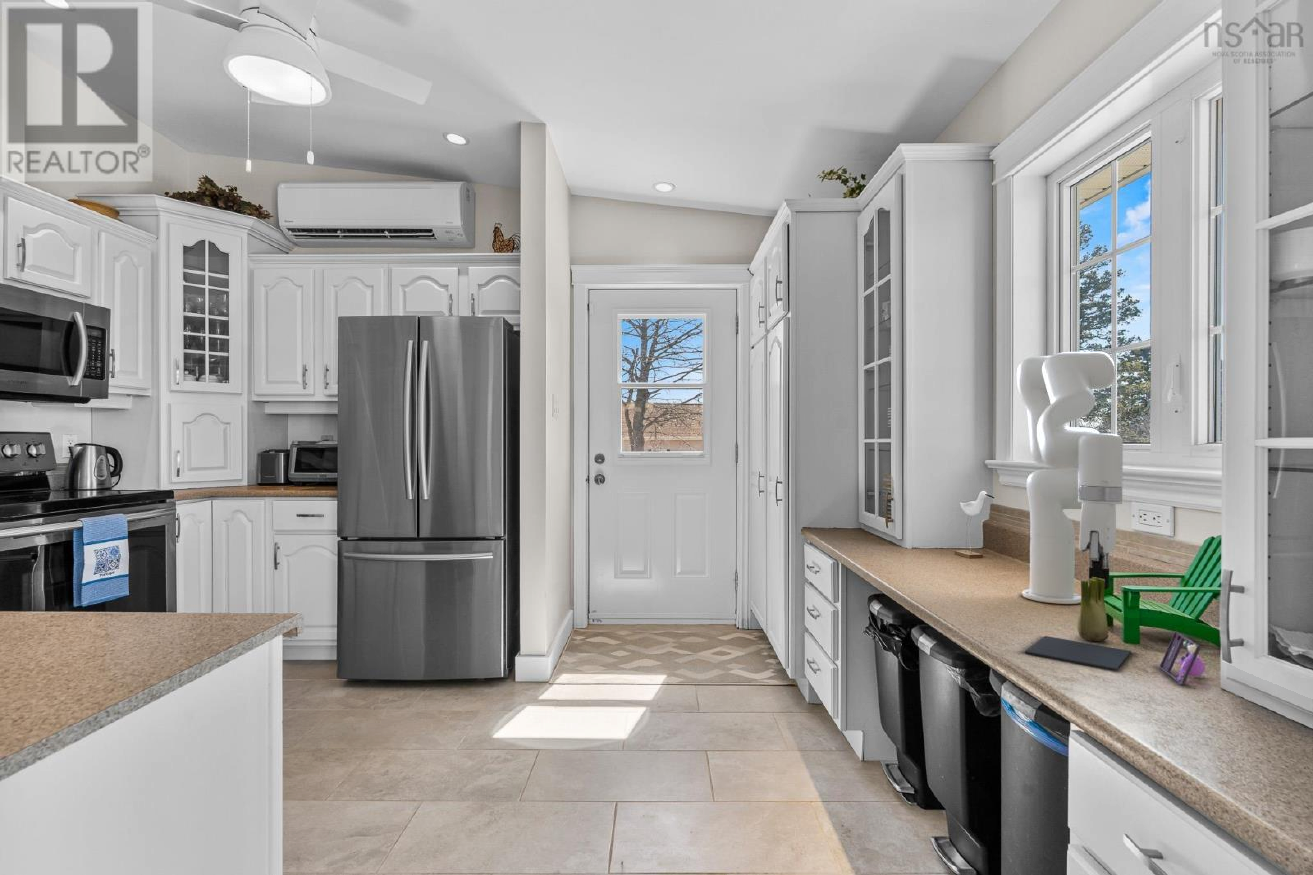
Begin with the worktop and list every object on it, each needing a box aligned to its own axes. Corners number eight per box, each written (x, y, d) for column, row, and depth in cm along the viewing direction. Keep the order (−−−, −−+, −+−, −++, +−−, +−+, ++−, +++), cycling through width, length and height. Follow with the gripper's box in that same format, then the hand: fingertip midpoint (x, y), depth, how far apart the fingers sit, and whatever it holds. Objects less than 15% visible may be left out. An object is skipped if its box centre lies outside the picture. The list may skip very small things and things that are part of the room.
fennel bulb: (1082, 642, 134) (1083, 579, 134) (1070, 635, 139) (1071, 574, 139) (1115, 644, 133) (1115, 580, 133) (1101, 637, 138) (1102, 575, 138)
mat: (1045, 637, 137) (1045, 635, 137) (1131, 653, 128) (1131, 650, 128) (1024, 653, 127) (1024, 651, 127) (1116, 671, 117) (1116, 668, 117)
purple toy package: (1170, 629, 119) (1193, 643, 110) (1204, 642, 117) (1230, 658, 109) (1154, 665, 120) (1175, 682, 111) (1188, 679, 118) (1212, 697, 109)
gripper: (1086, 492, 148) (1085, 580, 148) (1069, 496, 137) (1068, 590, 137) (1128, 495, 143) (1127, 585, 143) (1115, 498, 132) (1114, 596, 132)
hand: (1099, 587), depth 140 cm, fingers closed
